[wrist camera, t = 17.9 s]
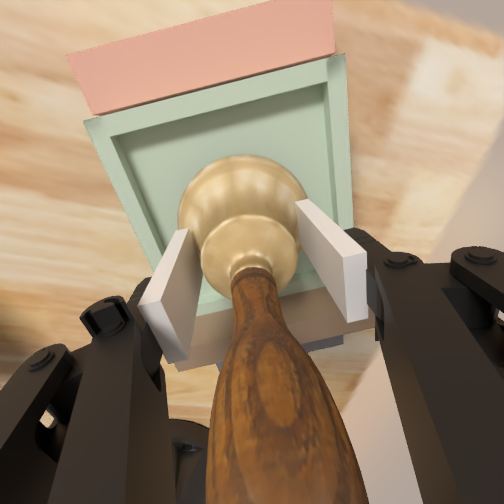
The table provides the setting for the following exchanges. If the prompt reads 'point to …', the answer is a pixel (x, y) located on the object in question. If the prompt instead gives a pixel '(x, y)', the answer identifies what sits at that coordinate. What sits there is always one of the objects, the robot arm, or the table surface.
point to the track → (206, 60)
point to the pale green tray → (227, 144)
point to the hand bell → (264, 346)
